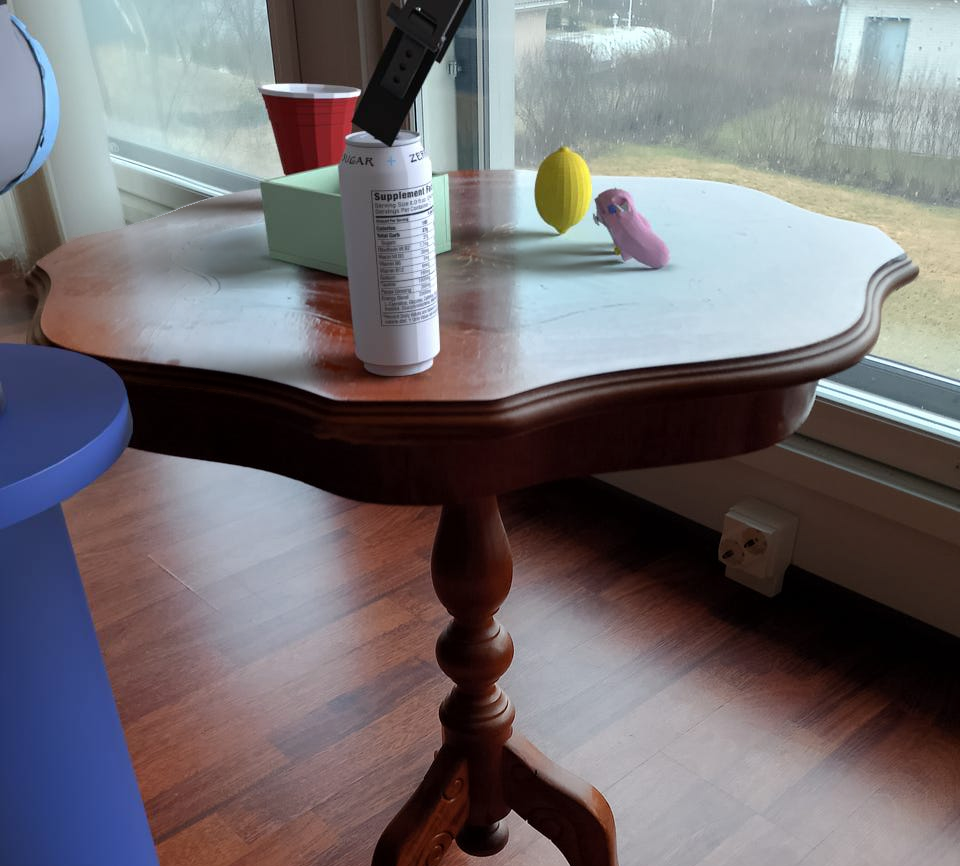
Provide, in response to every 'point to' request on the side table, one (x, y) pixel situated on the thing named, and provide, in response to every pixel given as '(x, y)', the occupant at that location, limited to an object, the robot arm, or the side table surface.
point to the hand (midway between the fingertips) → (399, 89)
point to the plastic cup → (309, 123)
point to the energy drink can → (390, 252)
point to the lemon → (563, 189)
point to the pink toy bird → (629, 229)
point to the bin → (326, 218)
